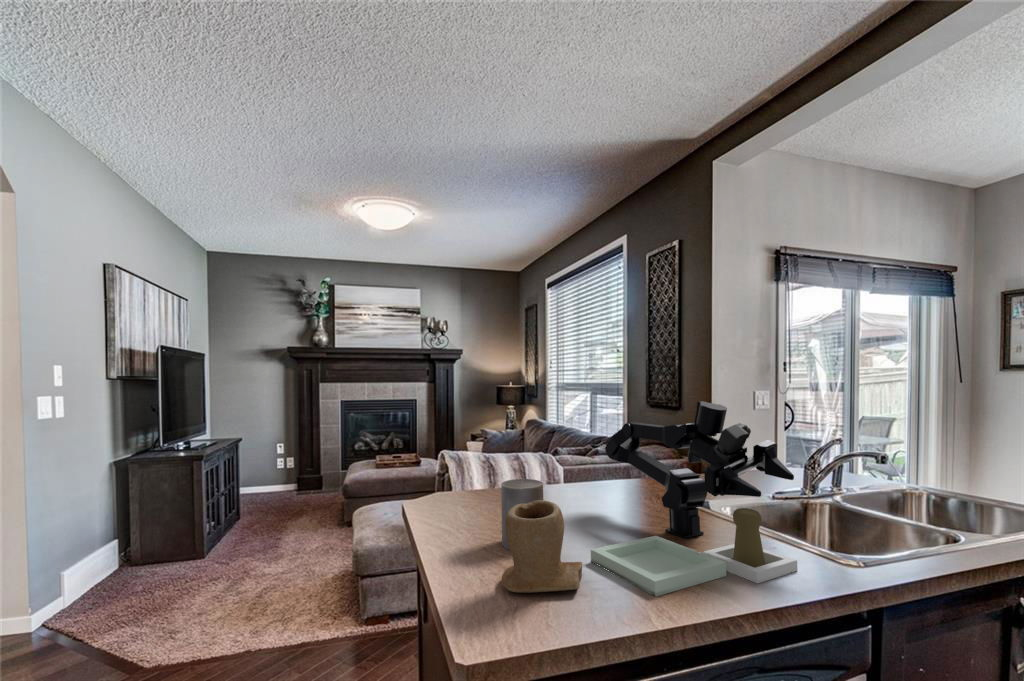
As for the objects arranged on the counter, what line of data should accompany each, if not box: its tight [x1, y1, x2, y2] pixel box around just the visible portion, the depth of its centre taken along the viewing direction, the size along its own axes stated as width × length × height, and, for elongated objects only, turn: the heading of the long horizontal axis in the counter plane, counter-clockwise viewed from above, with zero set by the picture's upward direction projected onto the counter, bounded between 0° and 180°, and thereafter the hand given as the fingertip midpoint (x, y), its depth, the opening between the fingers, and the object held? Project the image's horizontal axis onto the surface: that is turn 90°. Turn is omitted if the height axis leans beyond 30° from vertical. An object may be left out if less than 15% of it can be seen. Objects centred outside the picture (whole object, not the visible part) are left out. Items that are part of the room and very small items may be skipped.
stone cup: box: [501, 500, 583, 594], centre depth 87 cm, size 15×12×15 cm
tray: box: [590, 535, 727, 597], centre depth 95 cm, size 18×18×2 cm
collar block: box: [702, 543, 798, 584], centre depth 96 cm, size 12×12×2 cm
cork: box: [732, 507, 767, 568], centre depth 96 cm, size 6×6×11 cm
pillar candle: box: [500, 477, 544, 551], centre depth 110 cm, size 10×10×15 cm
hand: (777, 485), depth 95 cm, fingers open, 9 cm apart
